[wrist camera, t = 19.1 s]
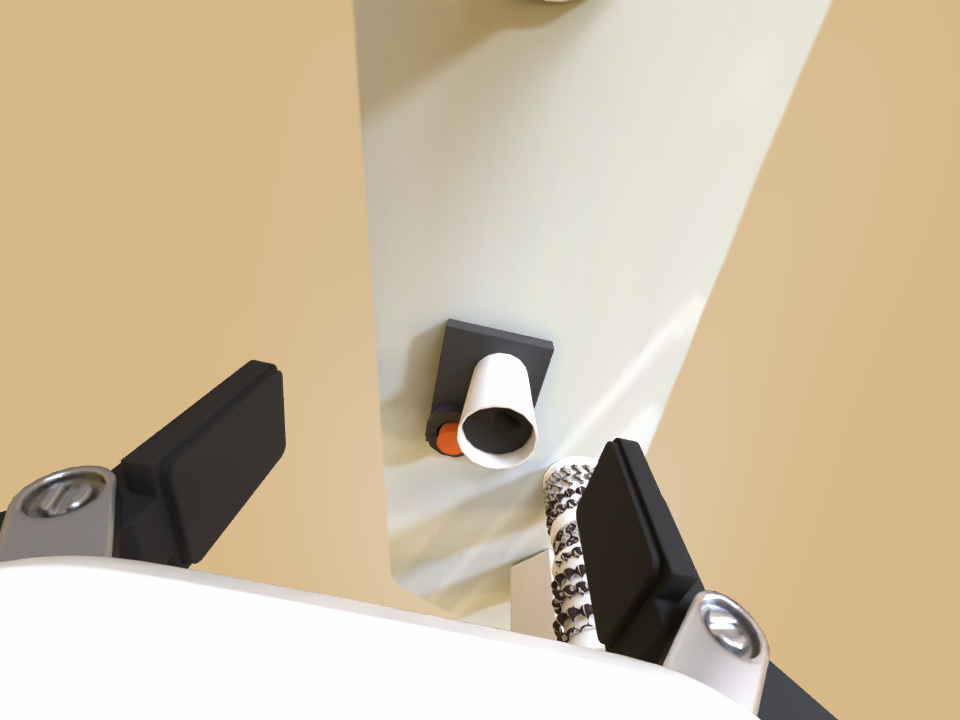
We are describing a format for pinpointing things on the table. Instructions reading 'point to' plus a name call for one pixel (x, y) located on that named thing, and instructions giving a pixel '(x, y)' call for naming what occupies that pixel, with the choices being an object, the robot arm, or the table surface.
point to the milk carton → (533, 596)
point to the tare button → (449, 438)
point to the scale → (462, 357)
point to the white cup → (498, 414)
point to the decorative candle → (569, 551)
